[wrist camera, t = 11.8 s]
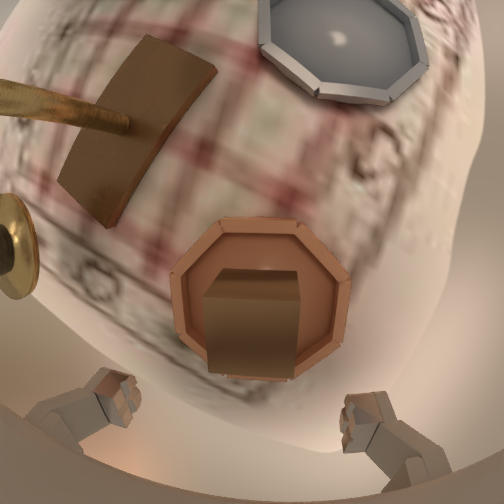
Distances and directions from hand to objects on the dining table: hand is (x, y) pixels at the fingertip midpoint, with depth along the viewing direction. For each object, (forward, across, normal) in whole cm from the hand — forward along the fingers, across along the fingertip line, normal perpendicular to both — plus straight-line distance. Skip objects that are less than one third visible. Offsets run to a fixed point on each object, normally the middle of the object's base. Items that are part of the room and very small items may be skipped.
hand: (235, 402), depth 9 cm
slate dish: (+11, -6, -19) cm, 23 cm away
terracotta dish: (+11, 0, +1) cm, 11 cm away
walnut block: (+10, 0, +1) cm, 10 cm away
